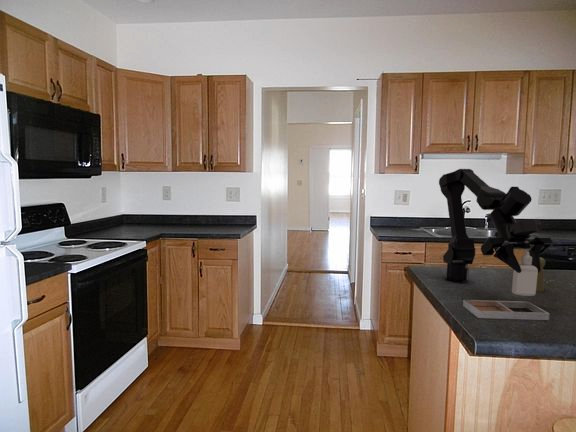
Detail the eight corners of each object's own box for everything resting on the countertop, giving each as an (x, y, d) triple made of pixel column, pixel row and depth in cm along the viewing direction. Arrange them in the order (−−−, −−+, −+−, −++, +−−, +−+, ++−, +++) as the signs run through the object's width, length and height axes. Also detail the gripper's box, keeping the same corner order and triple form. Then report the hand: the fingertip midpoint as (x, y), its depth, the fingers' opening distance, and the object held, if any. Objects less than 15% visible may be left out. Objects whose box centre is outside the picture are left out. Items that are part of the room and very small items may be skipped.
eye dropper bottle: (534, 298, 104) (539, 254, 103) (510, 294, 108) (515, 251, 106) (535, 294, 108) (540, 251, 106) (512, 290, 111) (516, 249, 110)
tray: (478, 318, 104) (478, 311, 104) (463, 305, 113) (463, 299, 113) (549, 320, 103) (549, 313, 103) (527, 307, 113) (528, 301, 113)
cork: (547, 292, 128) (550, 259, 127) (527, 290, 130) (530, 258, 128) (539, 286, 134) (542, 255, 133) (520, 285, 135) (523, 254, 134)
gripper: (490, 208, 108) (514, 256, 98) (551, 208, 110) (581, 256, 100) (471, 231, 116) (491, 278, 107) (528, 231, 119) (553, 277, 109)
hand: (529, 272), depth 106 cm, fingers closed on eye dropper bottle, 5 cm apart
